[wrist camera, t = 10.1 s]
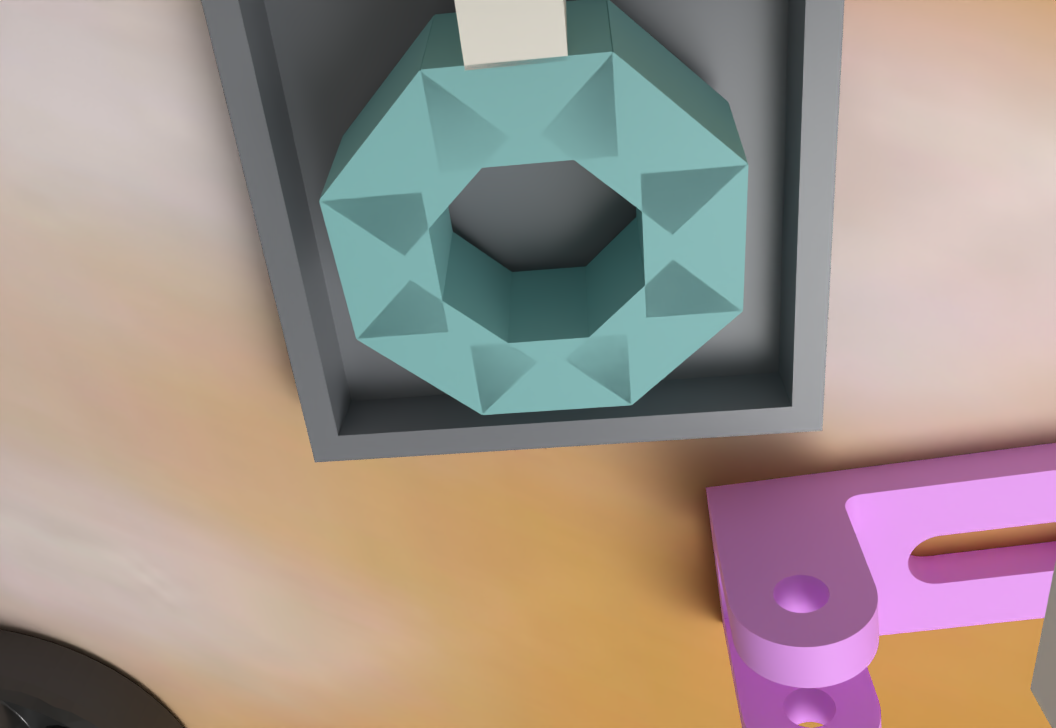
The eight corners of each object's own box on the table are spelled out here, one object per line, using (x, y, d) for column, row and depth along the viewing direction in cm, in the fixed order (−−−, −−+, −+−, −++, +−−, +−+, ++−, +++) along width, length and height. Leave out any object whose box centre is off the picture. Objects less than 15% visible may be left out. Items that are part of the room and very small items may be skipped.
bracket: (722, 620, 33) (756, 804, 27) (705, 484, 30) (738, 654, 24) (1138, 574, 31) (1275, 759, 25) (1158, 426, 29) (1317, 592, 23)
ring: (393, 348, 27) (378, 421, 25) (291, -75, 20) (258, -27, 18) (723, 324, 27) (739, 398, 24) (733, -122, 20) (757, -80, 17)
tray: (333, 415, 29) (314, 462, 27) (218, -89, 23) (182, -78, 21) (803, 384, 28) (822, 430, 26) (825, -155, 22) (852, -151, 20)
